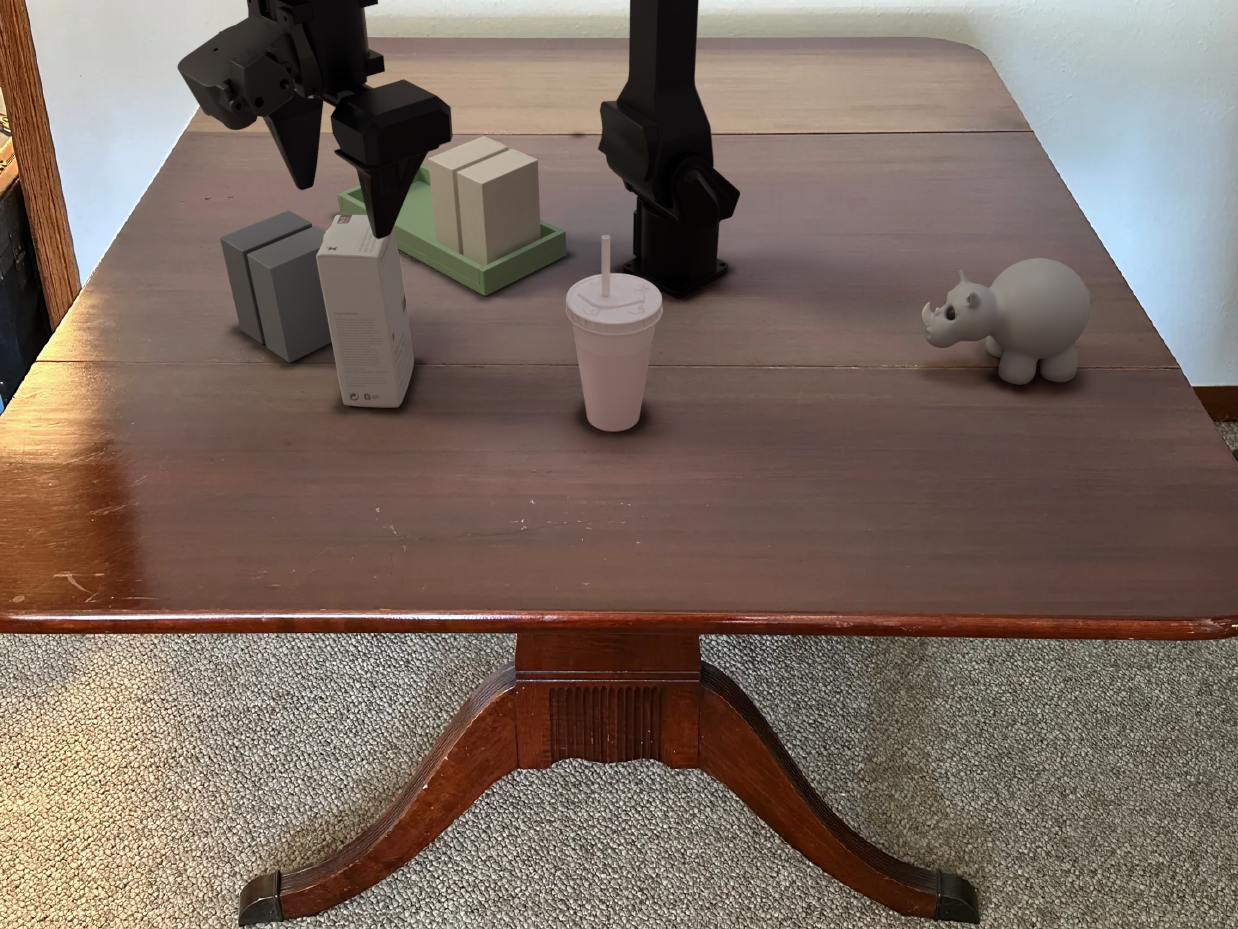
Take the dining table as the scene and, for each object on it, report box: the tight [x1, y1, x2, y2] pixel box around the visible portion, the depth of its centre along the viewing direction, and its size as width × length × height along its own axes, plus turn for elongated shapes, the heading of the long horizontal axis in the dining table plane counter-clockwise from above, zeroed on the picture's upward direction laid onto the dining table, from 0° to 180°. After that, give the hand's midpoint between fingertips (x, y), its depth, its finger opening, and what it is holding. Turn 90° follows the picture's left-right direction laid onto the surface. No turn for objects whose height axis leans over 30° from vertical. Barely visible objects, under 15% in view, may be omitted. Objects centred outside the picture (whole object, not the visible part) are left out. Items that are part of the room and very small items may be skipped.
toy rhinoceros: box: [921, 257, 1093, 385], centre depth 87 cm, size 7×12×8 cm, turn 92°
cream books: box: [427, 135, 541, 266], centre depth 99 cm, size 6×6×8 cm
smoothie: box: [565, 234, 664, 432], centre depth 81 cm, size 6×6×14 cm
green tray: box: [337, 162, 567, 297], centre depth 104 cm, size 19×9×2 cm, turn 47°
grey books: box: [219, 209, 332, 364], centre depth 91 cm, size 6×6×8 cm
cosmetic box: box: [316, 214, 415, 408], centre depth 84 cm, size 6×4×12 cm
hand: (342, 211), depth 81 cm, fingers open, 9 cm apart
